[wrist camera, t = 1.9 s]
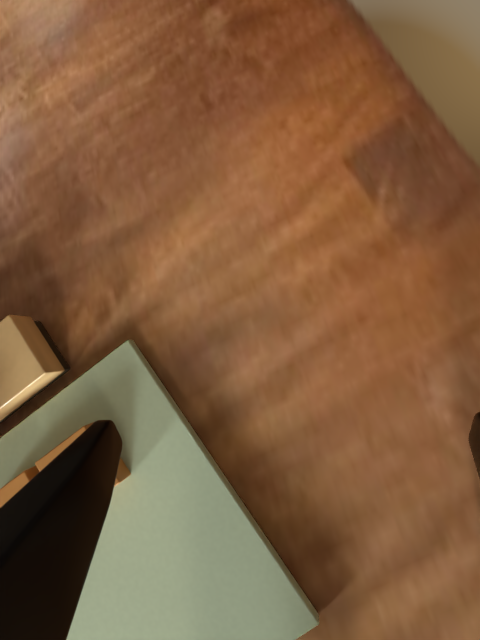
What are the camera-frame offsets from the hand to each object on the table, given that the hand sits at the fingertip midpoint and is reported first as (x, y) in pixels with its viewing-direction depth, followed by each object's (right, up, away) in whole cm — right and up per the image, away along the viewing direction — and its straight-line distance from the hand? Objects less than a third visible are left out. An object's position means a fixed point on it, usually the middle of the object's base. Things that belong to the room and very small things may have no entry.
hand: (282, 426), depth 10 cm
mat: (-9, -12, +15) cm, 22 cm away
